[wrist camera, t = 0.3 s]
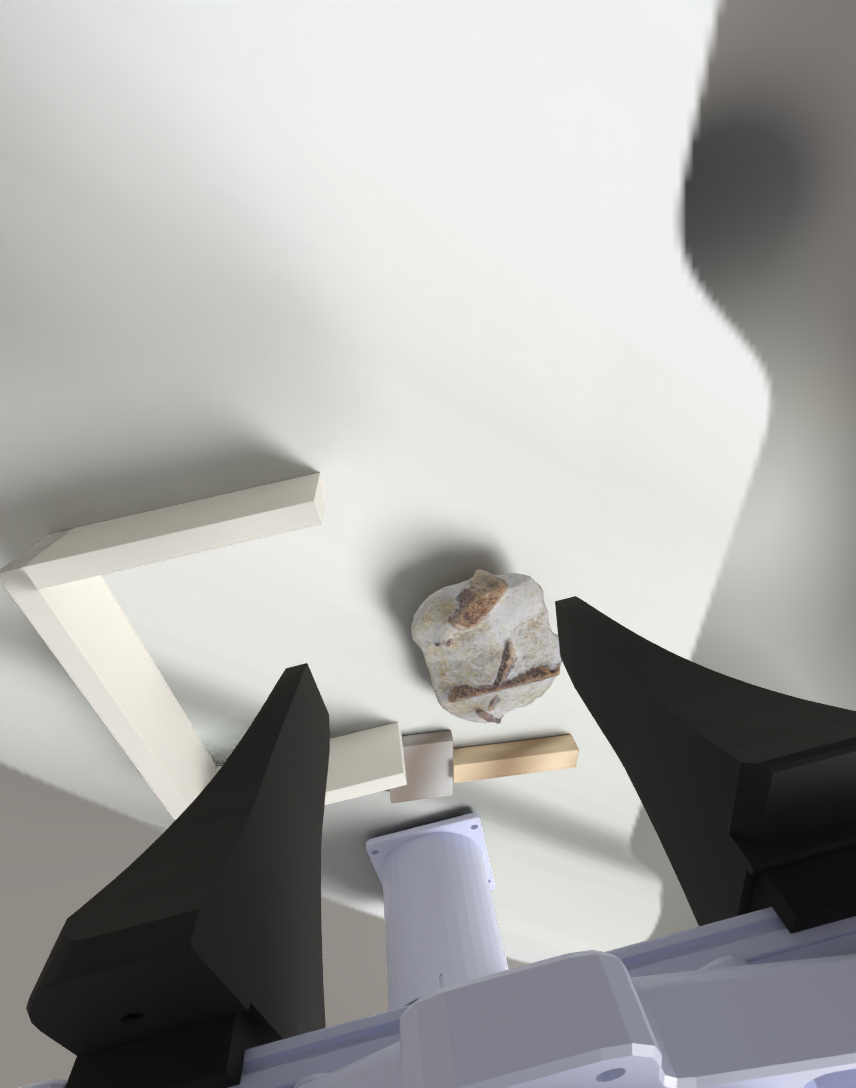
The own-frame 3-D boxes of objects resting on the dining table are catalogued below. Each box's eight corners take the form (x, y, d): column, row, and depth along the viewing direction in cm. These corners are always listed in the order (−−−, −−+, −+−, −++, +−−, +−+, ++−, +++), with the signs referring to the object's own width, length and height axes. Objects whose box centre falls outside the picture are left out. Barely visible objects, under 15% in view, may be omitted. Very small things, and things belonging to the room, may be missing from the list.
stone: (563, 666, 28) (584, 700, 26) (451, 715, 28) (461, 753, 26) (521, 540, 23) (542, 569, 21) (385, 600, 23) (391, 635, 21)
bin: (401, 733, 29) (407, 784, 26) (207, 781, 28) (188, 839, 25) (320, 472, 21) (313, 500, 18) (49, 533, 21) (-5, 573, 17)
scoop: (574, 715, 30) (582, 730, 29) (565, 768, 32) (572, 784, 31) (386, 737, 29) (387, 754, 28) (390, 791, 31) (391, 809, 30)
